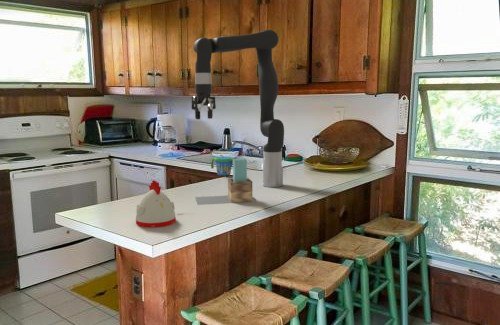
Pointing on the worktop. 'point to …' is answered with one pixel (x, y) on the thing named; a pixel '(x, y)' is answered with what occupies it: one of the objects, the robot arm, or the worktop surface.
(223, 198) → the baseplate
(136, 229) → the worktop surface
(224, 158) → the snack cup
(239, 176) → the teal brick
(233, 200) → the wooden crate
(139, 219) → the kitchen timer
